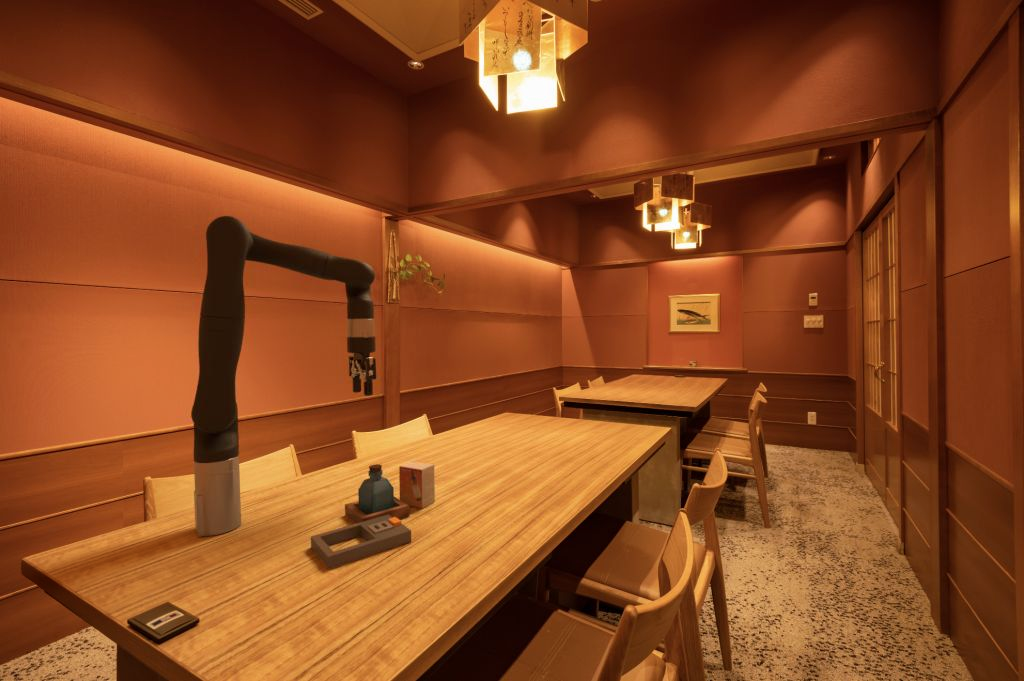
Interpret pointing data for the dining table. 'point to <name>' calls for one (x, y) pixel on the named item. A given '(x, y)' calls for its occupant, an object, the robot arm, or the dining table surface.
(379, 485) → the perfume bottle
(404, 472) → the small box
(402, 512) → the walnut tray
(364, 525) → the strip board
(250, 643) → the dining table surface
